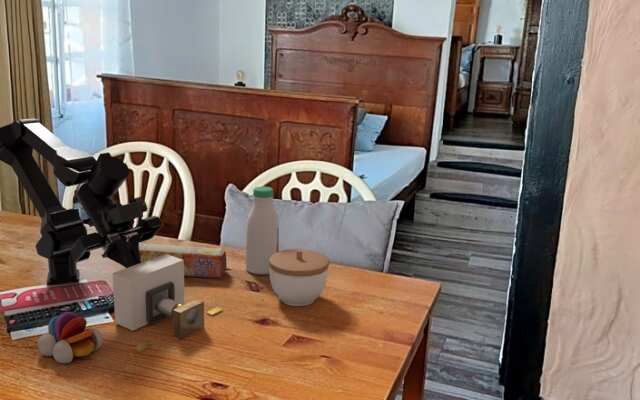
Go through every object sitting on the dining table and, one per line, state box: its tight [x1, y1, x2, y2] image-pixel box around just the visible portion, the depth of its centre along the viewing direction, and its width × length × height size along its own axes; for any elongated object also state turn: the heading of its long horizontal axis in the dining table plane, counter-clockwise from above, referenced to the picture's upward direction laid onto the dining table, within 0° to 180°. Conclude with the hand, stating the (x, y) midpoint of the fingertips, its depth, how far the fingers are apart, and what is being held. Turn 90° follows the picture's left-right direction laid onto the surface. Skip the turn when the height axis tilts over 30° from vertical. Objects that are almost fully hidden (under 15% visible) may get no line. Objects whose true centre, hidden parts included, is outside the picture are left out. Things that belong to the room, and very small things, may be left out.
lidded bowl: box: [269, 248, 330, 307], centre depth 127 cm, size 13×13×11 cm
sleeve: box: [112, 254, 186, 331], centre depth 117 cm, size 6×13×10 cm, turn 146°
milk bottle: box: [245, 186, 280, 276], centre depth 141 cm, size 8×8×20 cm
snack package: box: [139, 242, 228, 280], centre depth 139 cm, size 21×7×7 cm, turn 89°
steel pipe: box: [132, 294, 224, 353], centre depth 117 cm, size 19×21×6 cm
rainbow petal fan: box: [37, 311, 104, 364], centre depth 104 cm, size 8×10×7 cm
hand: (140, 273), depth 118 cm, fingers closed, pressing on sleeve
